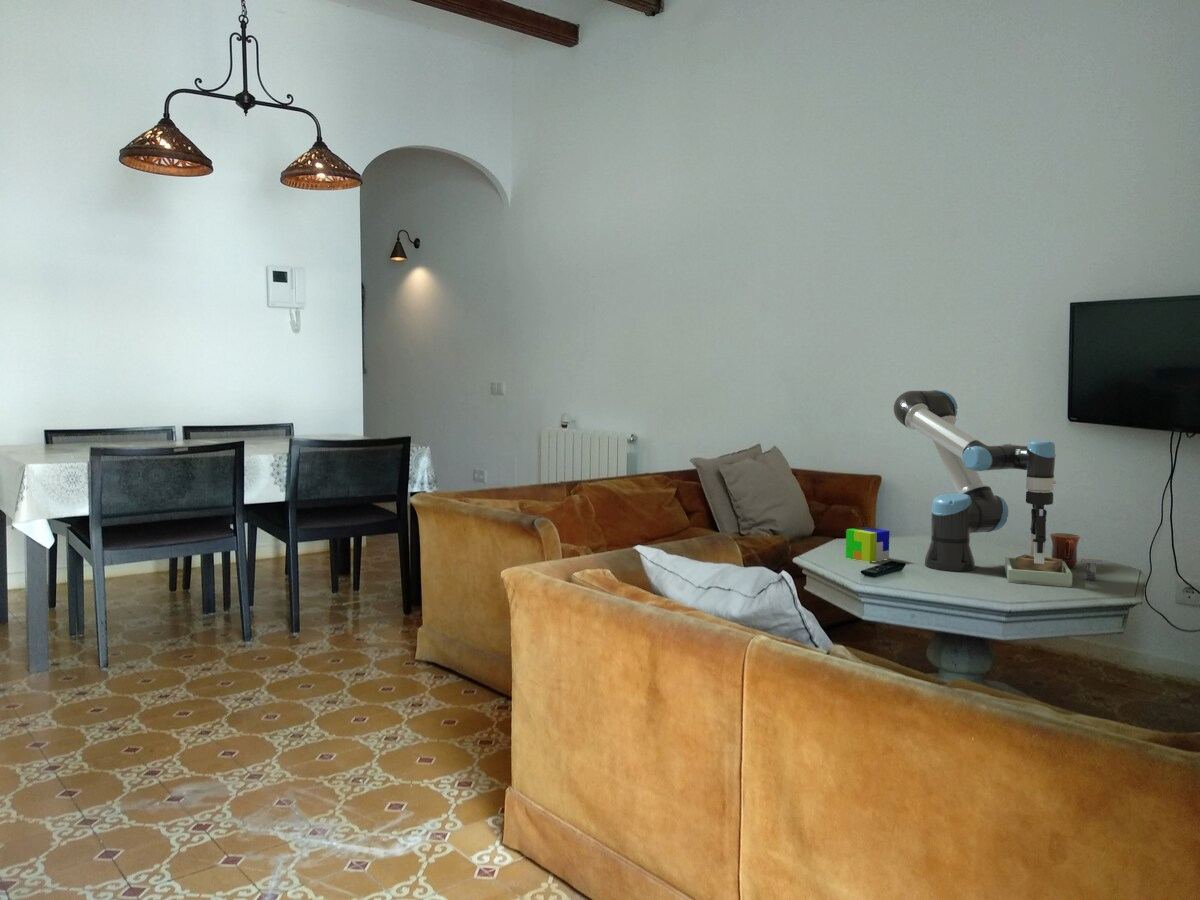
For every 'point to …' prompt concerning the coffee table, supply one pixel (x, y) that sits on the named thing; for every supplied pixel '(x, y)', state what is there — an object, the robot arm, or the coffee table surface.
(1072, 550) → the mug
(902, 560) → the coffee table surface
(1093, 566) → the stake
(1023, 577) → the tray
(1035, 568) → the light brown wooden box
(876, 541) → the puzzle toy
